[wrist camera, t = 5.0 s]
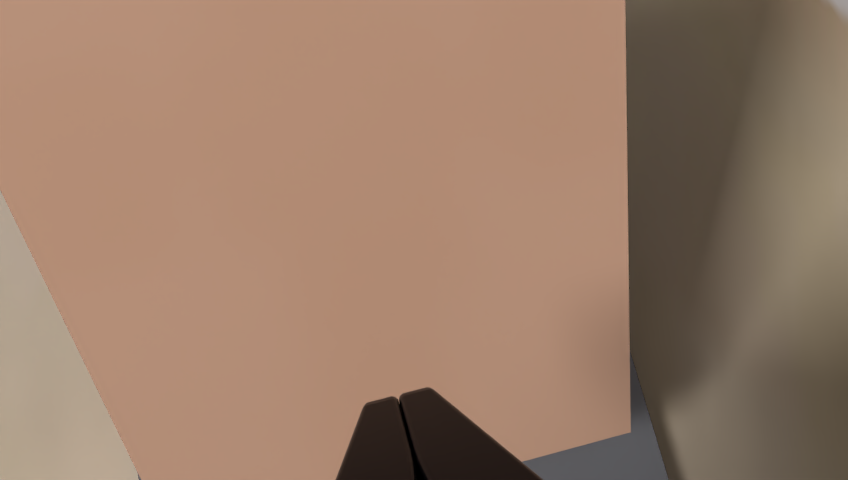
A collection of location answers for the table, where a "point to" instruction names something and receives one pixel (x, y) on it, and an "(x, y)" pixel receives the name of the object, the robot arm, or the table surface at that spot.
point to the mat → (610, 451)
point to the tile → (326, 217)
